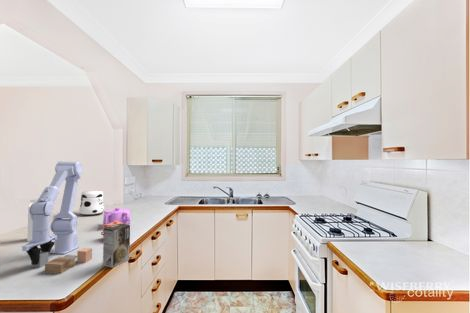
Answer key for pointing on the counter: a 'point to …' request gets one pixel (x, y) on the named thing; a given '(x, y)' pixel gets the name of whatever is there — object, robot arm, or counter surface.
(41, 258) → the grey block
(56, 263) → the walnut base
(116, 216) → the teakettle
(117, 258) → the coffee box
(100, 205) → the milk container
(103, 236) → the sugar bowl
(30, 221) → the milk
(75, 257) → the tile
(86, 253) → the terracotta block
